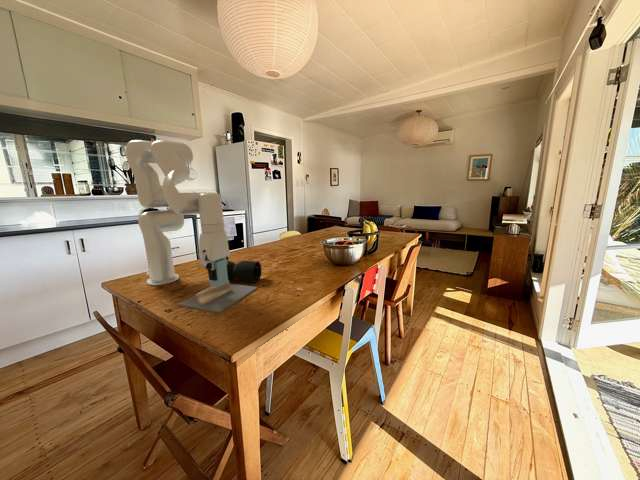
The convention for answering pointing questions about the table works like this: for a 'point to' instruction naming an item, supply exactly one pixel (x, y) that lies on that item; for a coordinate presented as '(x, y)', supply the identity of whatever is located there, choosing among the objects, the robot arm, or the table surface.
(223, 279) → the block
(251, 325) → the table surface
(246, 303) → the table surface
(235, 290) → the panel
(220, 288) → the plank
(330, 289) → the table surface
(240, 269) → the figurine
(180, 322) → the table surface
